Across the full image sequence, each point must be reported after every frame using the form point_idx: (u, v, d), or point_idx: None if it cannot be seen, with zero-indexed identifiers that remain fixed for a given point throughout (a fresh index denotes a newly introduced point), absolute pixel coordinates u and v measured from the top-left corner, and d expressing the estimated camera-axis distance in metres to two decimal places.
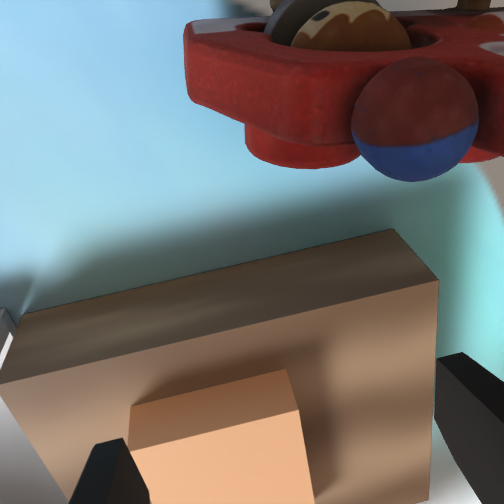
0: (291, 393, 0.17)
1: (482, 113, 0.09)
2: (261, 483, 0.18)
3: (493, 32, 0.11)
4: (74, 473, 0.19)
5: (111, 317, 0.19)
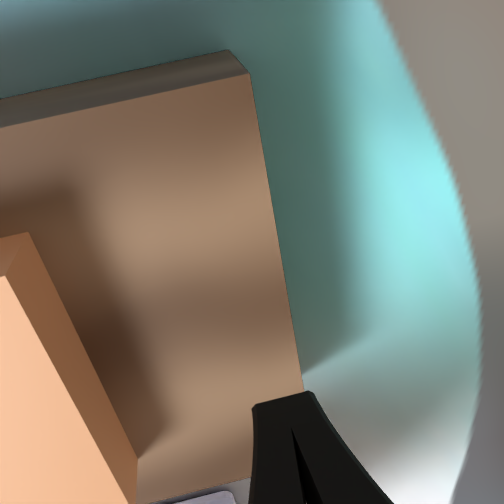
0: (11, 257, 0.11)
1: None
2: None
3: None
4: None
5: None
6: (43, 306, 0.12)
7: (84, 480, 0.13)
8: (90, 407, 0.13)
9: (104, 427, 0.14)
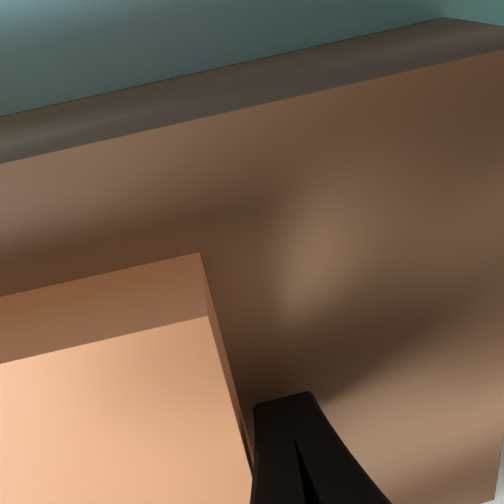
0: (200, 288, 0.08)
1: None
2: (150, 480, 0.09)
3: None
4: None
5: None
6: (220, 347, 0.09)
7: None
8: (251, 466, 0.11)
9: None
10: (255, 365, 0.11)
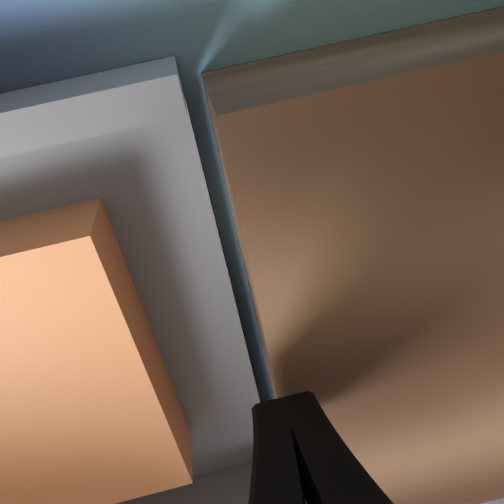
0: None
1: None
2: None
3: None
4: (302, 344, 0.11)
5: (384, 47, 0.10)
6: None
7: None
8: None
9: None
10: None
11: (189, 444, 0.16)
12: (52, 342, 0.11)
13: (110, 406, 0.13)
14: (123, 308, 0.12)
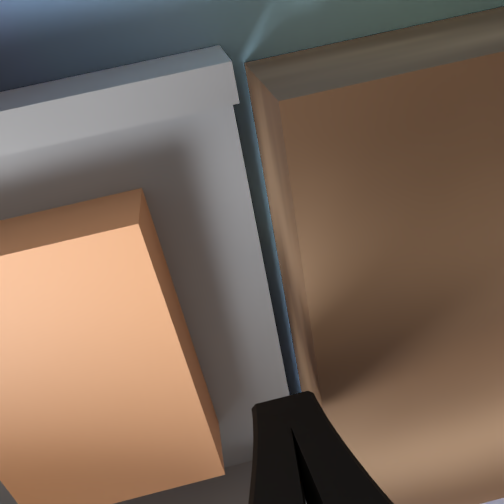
0: None
1: None
2: None
3: None
4: (347, 333, 0.11)
5: (432, 36, 0.10)
6: None
7: None
8: None
9: None
10: None
11: (219, 436, 0.16)
12: (95, 331, 0.11)
13: (148, 396, 0.13)
14: (165, 297, 0.12)
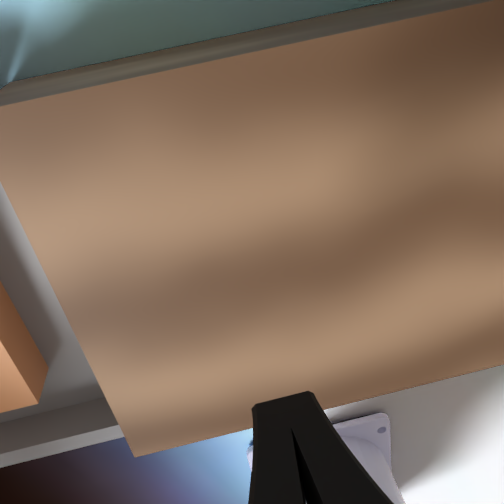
0: None
1: None
2: None
3: None
4: (77, 280, 0.15)
5: (126, 64, 0.14)
6: None
7: None
8: None
9: None
10: (350, 225, 0.15)
11: (43, 376, 0.20)
12: None
13: None
14: None
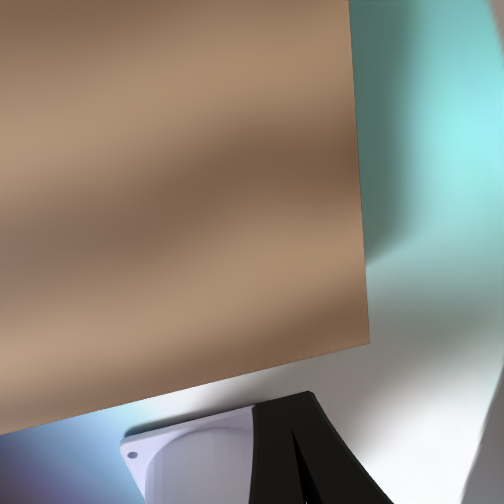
0: None
1: None
2: None
3: None
4: None
5: None
6: None
7: None
8: None
9: None
10: (137, 181, 0.14)
11: None
12: None
13: None
14: None
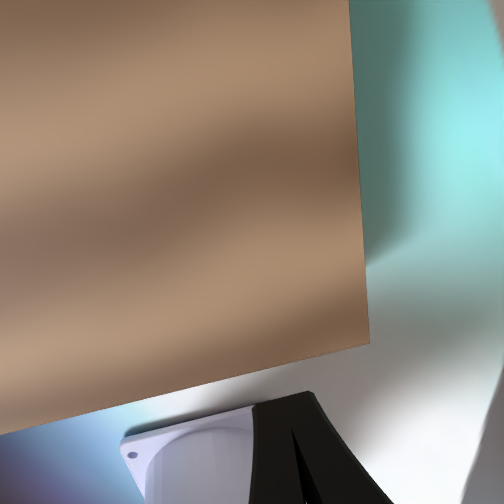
0: None
1: None
2: None
3: None
4: None
5: None
6: None
7: None
8: None
9: None
10: (137, 181, 0.14)
11: None
12: None
13: None
14: None
